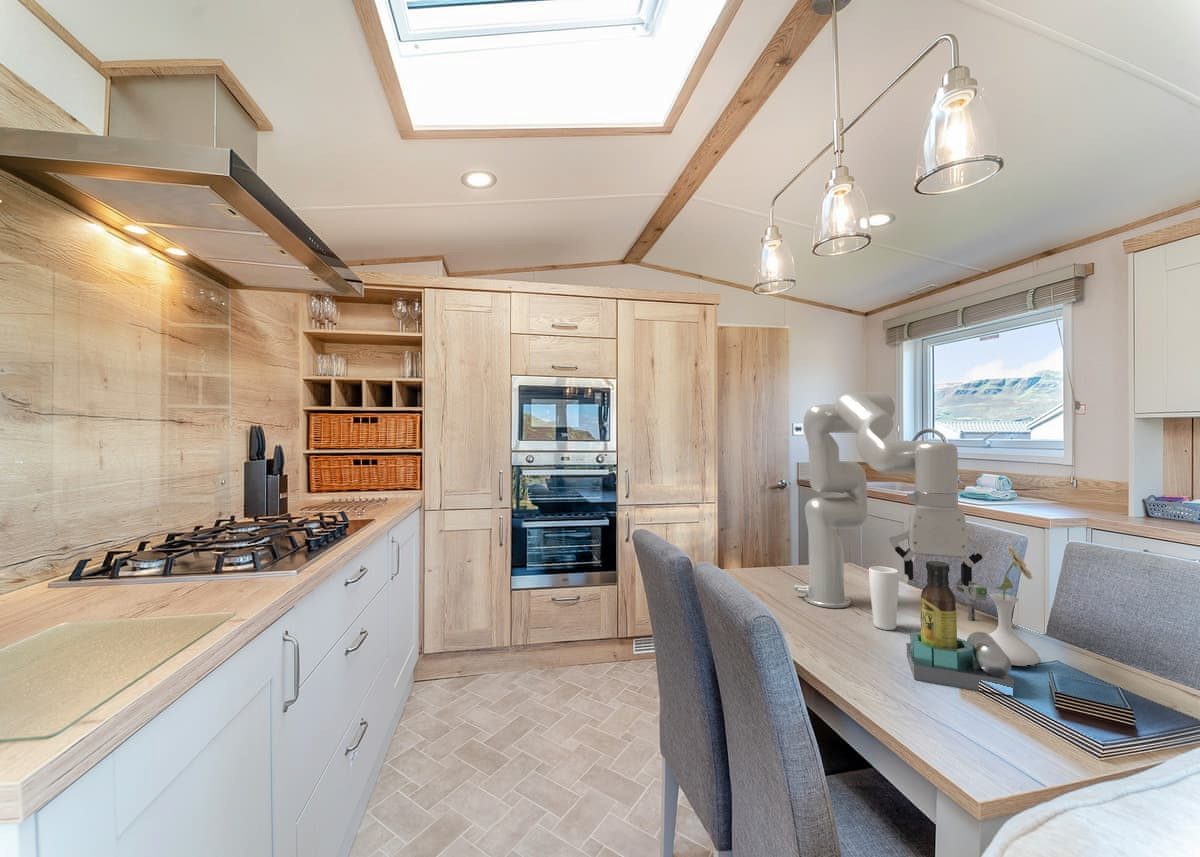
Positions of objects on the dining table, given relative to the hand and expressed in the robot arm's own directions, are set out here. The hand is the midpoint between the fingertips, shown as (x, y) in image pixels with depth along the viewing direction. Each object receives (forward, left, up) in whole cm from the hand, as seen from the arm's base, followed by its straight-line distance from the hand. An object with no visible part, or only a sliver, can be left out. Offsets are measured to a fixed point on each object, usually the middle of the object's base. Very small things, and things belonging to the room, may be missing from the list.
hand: (937, 581), depth 104 cm
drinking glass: (-8, +24, -19) cm, 31 cm away
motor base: (+3, 0, -19) cm, 19 cm away
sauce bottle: (0, 0, -16) cm, 16 cm away
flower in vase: (+15, +14, -19) cm, 28 cm away
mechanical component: (+13, +40, -19) cm, 46 cm away
